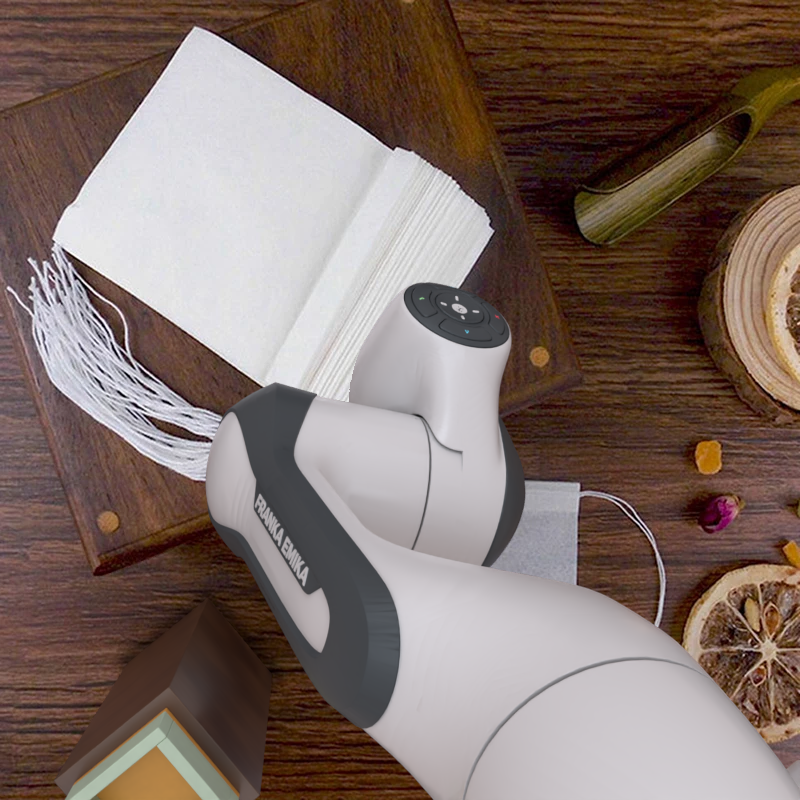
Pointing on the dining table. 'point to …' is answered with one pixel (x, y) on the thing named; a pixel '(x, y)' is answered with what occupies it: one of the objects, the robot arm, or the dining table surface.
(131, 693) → the stand
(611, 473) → the dining table surface
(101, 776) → the socket base
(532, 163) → the dining table surface
